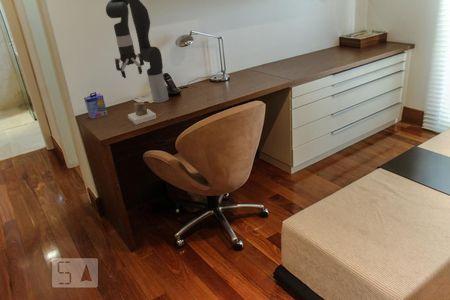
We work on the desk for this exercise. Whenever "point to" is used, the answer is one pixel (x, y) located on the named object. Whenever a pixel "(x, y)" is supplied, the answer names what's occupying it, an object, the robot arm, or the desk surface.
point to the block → (140, 108)
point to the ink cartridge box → (95, 105)
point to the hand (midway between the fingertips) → (132, 75)
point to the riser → (142, 117)
